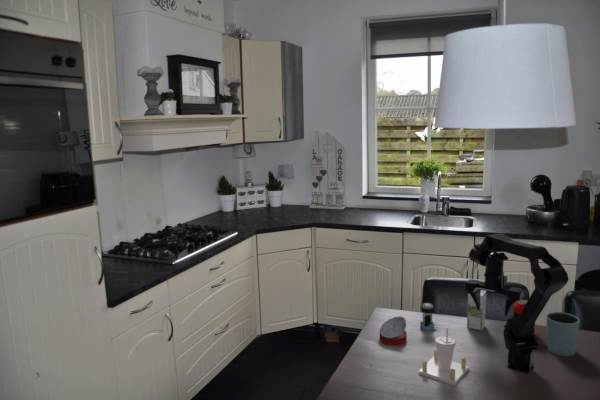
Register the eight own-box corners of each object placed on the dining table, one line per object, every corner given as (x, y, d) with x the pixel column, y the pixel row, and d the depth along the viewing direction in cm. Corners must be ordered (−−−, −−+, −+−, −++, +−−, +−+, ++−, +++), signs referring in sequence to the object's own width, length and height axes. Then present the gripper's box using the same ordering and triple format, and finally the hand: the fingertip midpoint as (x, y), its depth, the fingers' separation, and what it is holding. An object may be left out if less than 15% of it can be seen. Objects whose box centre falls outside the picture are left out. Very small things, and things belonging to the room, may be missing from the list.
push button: (435, 326, 196) (436, 301, 194) (439, 332, 191) (440, 307, 189) (418, 326, 196) (419, 302, 194) (422, 332, 191) (422, 307, 189)
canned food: (405, 356, 183) (409, 339, 176) (377, 351, 184) (380, 334, 178) (405, 330, 191) (409, 313, 185) (379, 326, 193) (381, 310, 187)
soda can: (513, 336, 186) (514, 305, 184) (511, 327, 193) (513, 297, 191) (535, 338, 183) (537, 307, 181) (533, 329, 190) (534, 299, 188)
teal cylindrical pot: (579, 358, 168) (582, 325, 166) (546, 354, 171) (548, 321, 169) (574, 345, 177) (576, 313, 175) (542, 341, 181) (544, 310, 178)
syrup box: (485, 325, 195) (486, 290, 192) (481, 331, 190) (483, 295, 188) (470, 322, 198) (471, 287, 195) (466, 328, 193) (467, 292, 191)
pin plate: (469, 369, 163) (469, 357, 162) (455, 385, 154) (455, 373, 153) (433, 358, 170) (434, 347, 170) (418, 373, 161) (418, 362, 160)
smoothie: (449, 375, 157) (450, 333, 155) (430, 369, 162) (431, 328, 159) (458, 367, 162) (459, 326, 160) (439, 361, 166) (440, 321, 164)
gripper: (529, 268, 173) (526, 311, 175) (475, 259, 184) (473, 300, 187) (520, 277, 164) (518, 322, 167) (464, 267, 175) (462, 309, 178)
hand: (492, 312), depth 175 cm, fingers open, 9 cm apart
